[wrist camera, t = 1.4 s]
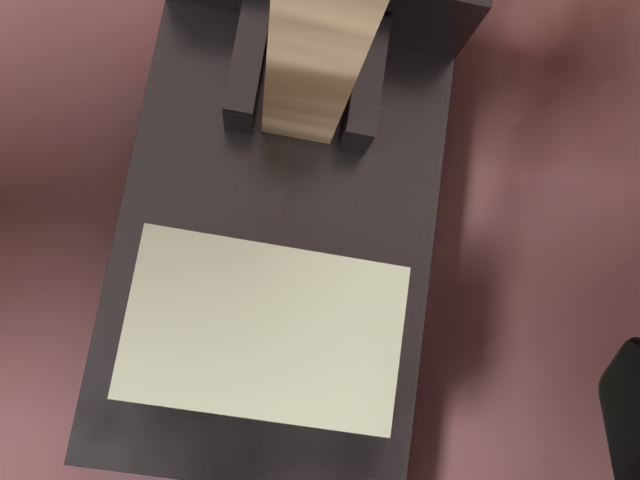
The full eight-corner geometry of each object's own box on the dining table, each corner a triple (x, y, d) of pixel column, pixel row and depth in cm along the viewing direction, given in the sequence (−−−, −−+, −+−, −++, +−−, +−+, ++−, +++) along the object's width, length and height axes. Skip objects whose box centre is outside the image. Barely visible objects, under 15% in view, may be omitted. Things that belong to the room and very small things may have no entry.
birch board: (329, 144, 21) (413, -57, 11) (261, 131, 21) (276, -86, 10) (345, 43, 22) (437, -238, 11) (279, 30, 22) (310, -270, 11)
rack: (392, 496, 21) (436, 543, 16) (77, 455, 20) (22, 492, 15) (446, 38, 24) (496, -39, 20) (179, -17, 23) (161, -113, 19)
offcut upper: (378, 430, 18) (390, 438, 17) (118, 394, 18) (107, 398, 16) (398, 273, 19) (410, 267, 18) (152, 232, 19) (144, 222, 17)
